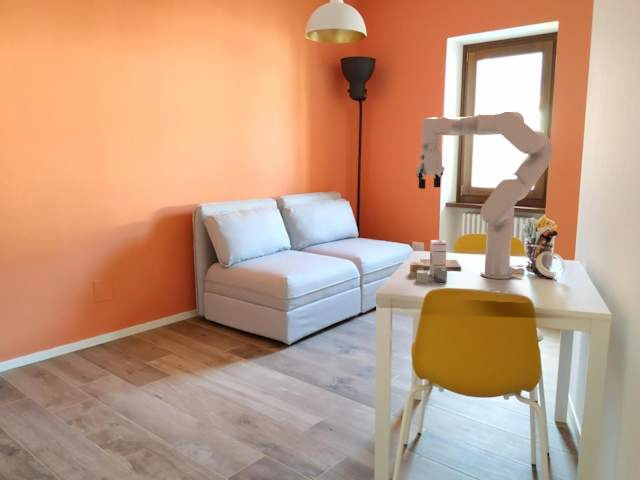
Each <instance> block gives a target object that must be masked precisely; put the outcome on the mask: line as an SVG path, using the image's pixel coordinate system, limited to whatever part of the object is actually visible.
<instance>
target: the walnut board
mask: <svg viewBox="0 0 640 480" xmlns="http://www.w3.org/2000/svg"><path fill="white" fill-rule="evenodd" d="M420 262H423V271H430V258H428V259H427V258H426V259H425V258H423V259H420ZM446 269H447V271H462V266H461V265H460V263H459V262H458V260H457V259H446Z"/></svg>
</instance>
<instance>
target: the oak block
mask: <svg viewBox="0 0 640 480" xmlns="http://www.w3.org/2000/svg"><path fill="white" fill-rule="evenodd" d="M417 270H418V271H424V270H423V262H421V261H420V262H419V261H418V262H417V261H415V262H414V261H410V263H409V275H410V277H412V278H413V277H416V278H417Z"/></svg>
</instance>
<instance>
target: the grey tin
mask: <svg viewBox="0 0 640 480" xmlns="http://www.w3.org/2000/svg"><path fill="white" fill-rule="evenodd" d="M446 282H447V283H448V270H447V269H444V268H435V269H434V277H433V283H435V284H440V283H443V284H447V283H446Z"/></svg>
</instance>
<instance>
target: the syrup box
mask: <svg viewBox="0 0 640 480" xmlns="http://www.w3.org/2000/svg"><path fill="white" fill-rule="evenodd" d="M429 241H430V242H429V243H430V245H429V246H430V247H429V259H430V270H429V275H430V276H431V277H432V278H434V269H435V268H444V269H446V260H447V242H446V241H445V240H444V239H431V240H429Z"/></svg>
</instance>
